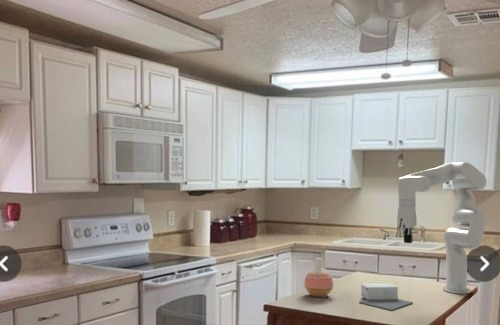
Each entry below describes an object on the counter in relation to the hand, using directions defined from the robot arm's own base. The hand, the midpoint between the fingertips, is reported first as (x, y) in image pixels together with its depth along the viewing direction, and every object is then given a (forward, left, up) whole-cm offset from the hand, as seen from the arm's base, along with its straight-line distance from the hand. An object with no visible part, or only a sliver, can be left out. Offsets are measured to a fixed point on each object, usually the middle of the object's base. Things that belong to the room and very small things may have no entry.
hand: (408, 242), depth 219 cm
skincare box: (+4, -4, -23) cm, 23 cm away
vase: (+28, -31, -26) cm, 49 cm away
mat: (+15, -3, -26) cm, 30 cm away
